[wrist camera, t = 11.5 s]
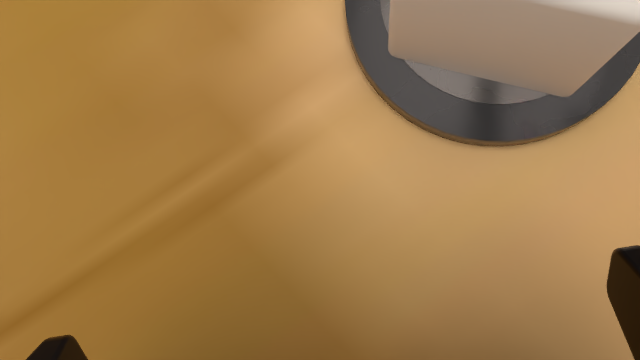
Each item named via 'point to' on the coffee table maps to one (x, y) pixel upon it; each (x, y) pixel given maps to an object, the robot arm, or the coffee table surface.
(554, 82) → the medicine bottle
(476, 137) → the plate
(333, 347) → the coffee table surface
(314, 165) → the coffee table surface
